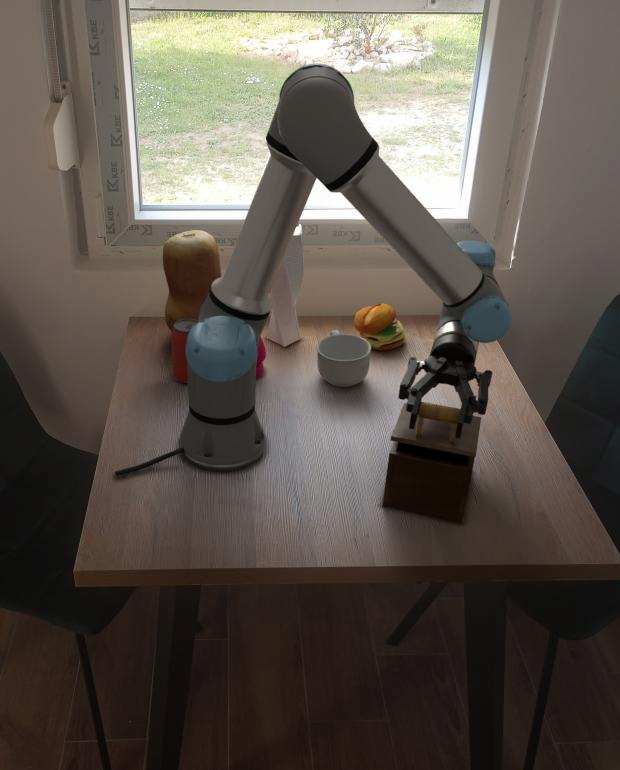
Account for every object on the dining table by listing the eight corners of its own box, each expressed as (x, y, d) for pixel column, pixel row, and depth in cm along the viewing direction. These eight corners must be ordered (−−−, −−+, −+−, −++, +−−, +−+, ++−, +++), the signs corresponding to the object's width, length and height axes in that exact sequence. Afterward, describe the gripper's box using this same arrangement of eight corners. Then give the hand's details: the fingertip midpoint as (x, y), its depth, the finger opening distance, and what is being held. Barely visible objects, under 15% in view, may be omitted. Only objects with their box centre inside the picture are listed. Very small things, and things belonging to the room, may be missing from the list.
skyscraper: (258, 337, 178) (261, 218, 163) (281, 327, 182) (286, 209, 167) (284, 350, 173) (289, 228, 158) (307, 339, 177) (314, 219, 163)
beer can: (192, 388, 159) (191, 335, 153) (166, 378, 162) (163, 327, 156) (211, 374, 164) (210, 322, 158) (185, 365, 167) (183, 314, 161)
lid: (475, 457, 118) (482, 419, 116) (390, 440, 122) (396, 403, 119) (480, 421, 132) (487, 386, 129) (403, 407, 135) (409, 373, 133)
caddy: (461, 524, 126) (472, 470, 121) (382, 506, 130) (389, 453, 124) (470, 473, 137) (480, 421, 132) (396, 458, 141) (403, 407, 135)
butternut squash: (165, 326, 182) (160, 222, 168) (224, 324, 183) (223, 220, 170) (166, 356, 170) (160, 247, 157) (229, 354, 171) (228, 245, 158)
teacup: (370, 394, 158) (373, 359, 154) (316, 392, 159) (318, 358, 154) (363, 359, 170) (366, 326, 166) (313, 358, 170) (315, 325, 166)
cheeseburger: (410, 353, 172) (404, 313, 167) (361, 362, 174) (354, 323, 169) (403, 330, 181) (397, 292, 176) (357, 339, 182) (349, 301, 177)
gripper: (507, 381, 134) (497, 459, 115) (395, 361, 139) (369, 433, 120) (515, 342, 130) (507, 417, 112) (400, 323, 135) (373, 392, 116)
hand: (435, 425), depth 116 cm, fingers closed on lid, 6 cm apart
